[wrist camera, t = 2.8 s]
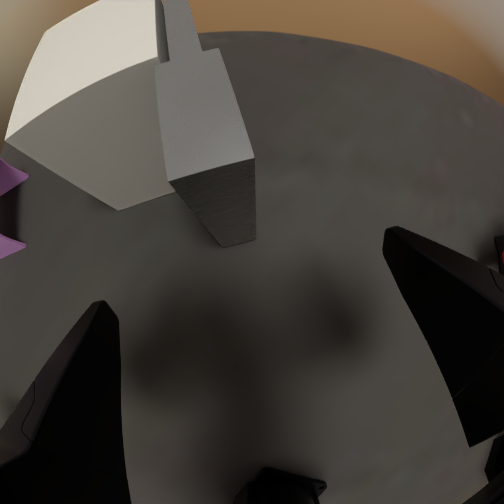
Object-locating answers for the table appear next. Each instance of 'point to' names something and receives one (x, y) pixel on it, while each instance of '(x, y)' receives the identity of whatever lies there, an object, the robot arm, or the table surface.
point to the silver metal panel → (204, 133)
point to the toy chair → (3, 179)
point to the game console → (500, 251)
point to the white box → (98, 102)
